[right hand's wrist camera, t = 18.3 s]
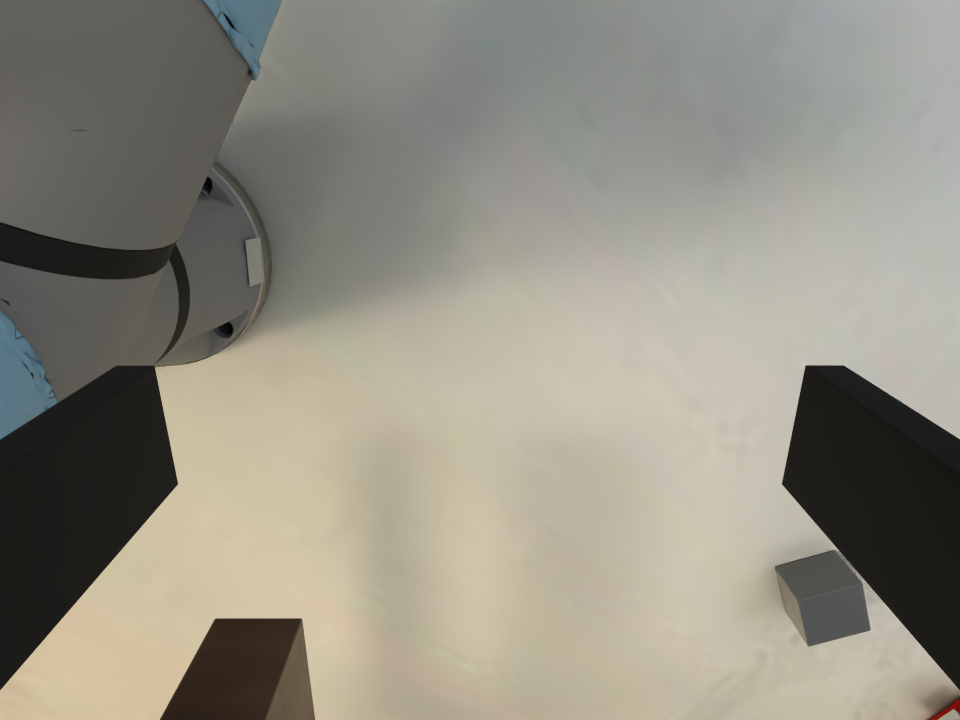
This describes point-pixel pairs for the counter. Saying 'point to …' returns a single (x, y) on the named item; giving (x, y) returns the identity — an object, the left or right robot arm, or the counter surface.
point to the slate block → (823, 598)
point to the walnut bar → (246, 674)
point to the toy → (949, 712)
